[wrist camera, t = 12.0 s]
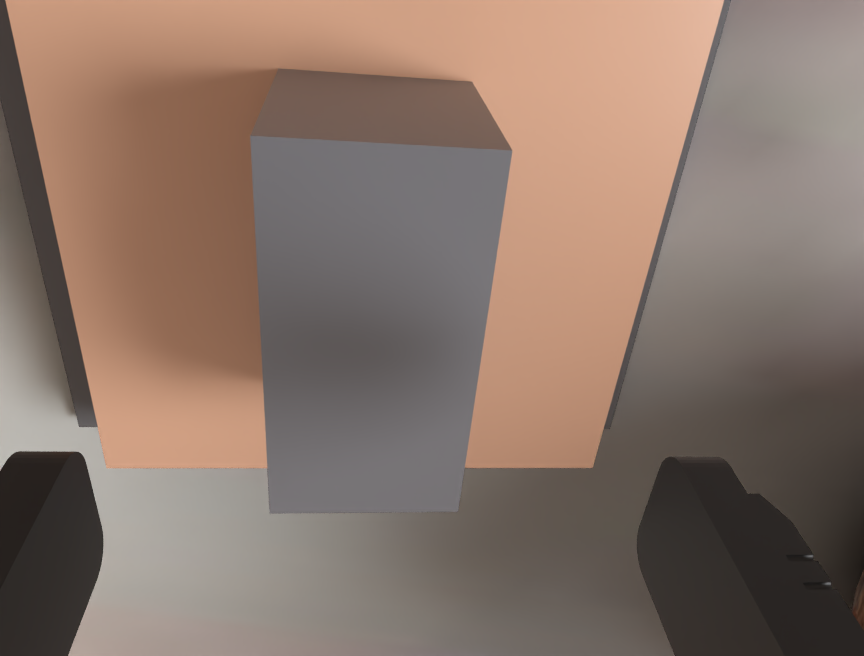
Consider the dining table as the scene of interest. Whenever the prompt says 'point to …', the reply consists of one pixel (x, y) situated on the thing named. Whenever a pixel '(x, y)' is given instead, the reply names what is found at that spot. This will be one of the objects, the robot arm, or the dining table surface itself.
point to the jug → (859, 602)
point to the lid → (357, 226)
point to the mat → (7, 84)
